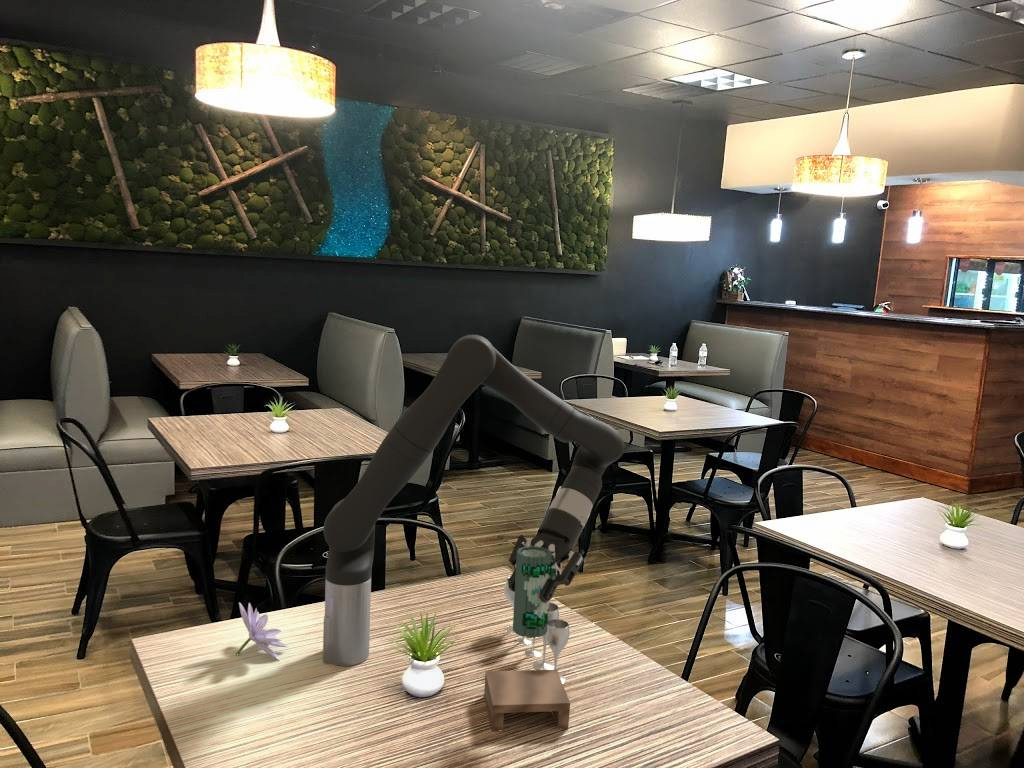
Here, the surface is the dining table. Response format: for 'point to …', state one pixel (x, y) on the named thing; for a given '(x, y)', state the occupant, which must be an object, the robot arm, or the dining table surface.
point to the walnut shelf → (525, 695)
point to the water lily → (259, 631)
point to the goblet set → (554, 635)
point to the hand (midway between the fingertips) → (526, 595)
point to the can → (531, 591)
